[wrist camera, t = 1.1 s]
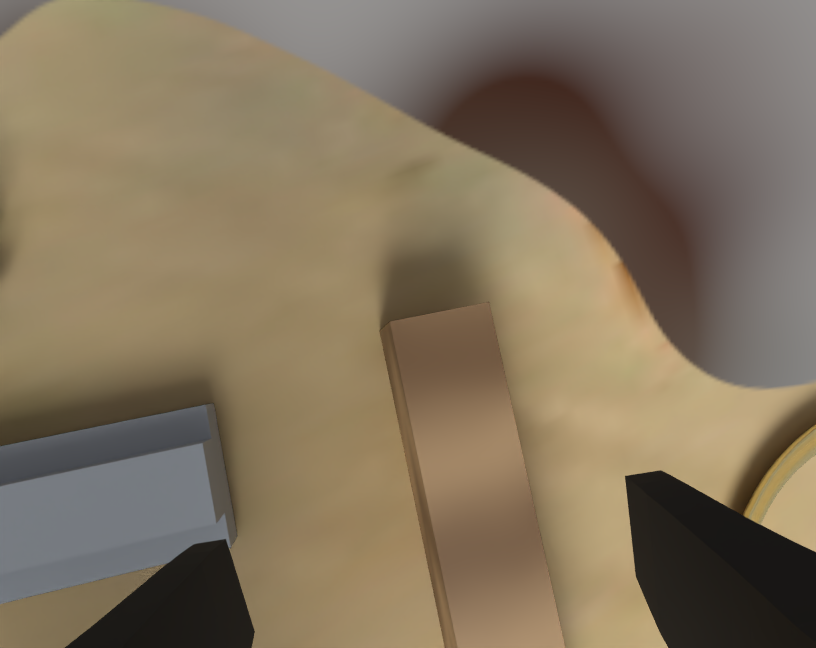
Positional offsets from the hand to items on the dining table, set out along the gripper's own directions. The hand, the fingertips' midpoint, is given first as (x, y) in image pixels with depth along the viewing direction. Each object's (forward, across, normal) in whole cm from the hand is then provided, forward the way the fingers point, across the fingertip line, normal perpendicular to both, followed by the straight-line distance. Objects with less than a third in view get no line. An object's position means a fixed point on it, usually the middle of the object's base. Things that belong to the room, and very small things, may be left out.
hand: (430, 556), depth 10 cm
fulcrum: (+9, +12, +2) cm, 16 cm away
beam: (+11, 0, +7) cm, 13 cm away
